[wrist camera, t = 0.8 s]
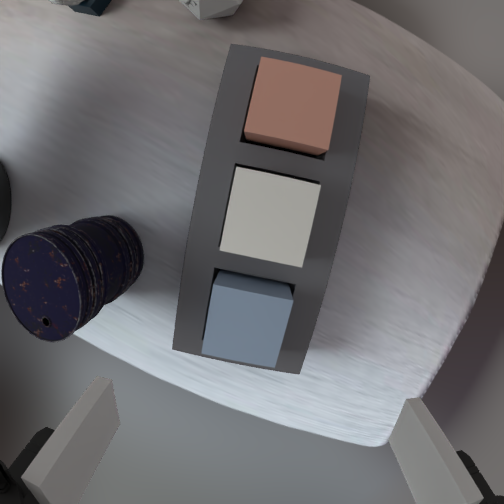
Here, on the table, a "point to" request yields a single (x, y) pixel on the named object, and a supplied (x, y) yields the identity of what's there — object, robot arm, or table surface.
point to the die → (211, 8)
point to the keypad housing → (279, 163)
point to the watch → (85, 5)
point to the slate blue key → (247, 318)
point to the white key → (269, 217)
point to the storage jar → (69, 274)
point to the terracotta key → (293, 106)
